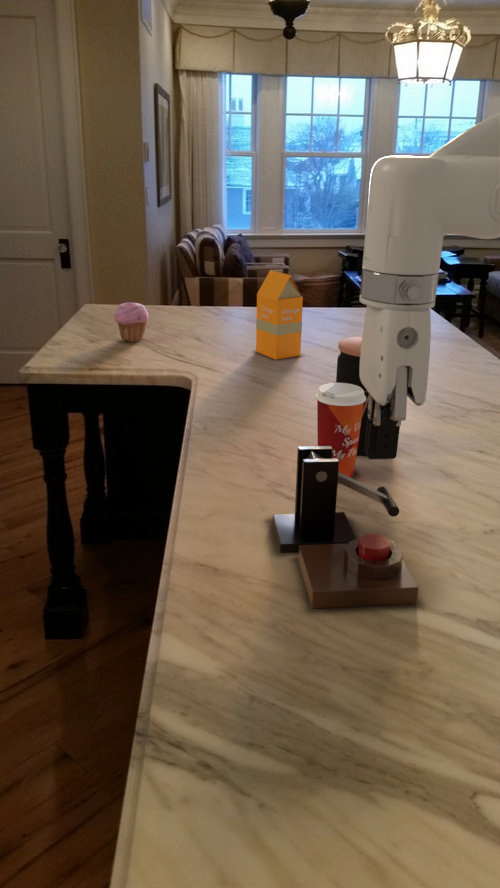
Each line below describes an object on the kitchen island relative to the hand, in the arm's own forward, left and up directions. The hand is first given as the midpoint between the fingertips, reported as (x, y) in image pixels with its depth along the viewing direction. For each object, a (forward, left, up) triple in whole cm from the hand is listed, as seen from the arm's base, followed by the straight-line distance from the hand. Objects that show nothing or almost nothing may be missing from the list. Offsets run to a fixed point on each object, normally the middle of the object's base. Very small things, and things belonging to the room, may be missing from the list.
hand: (379, 455), depth 78 cm
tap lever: (+1, -11, -10) cm, 15 cm away
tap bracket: (+5, -11, -16) cm, 20 cm away
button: (0, 0, -13) cm, 13 cm away
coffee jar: (-9, -41, -16) cm, 45 cm away
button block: (+2, 0, -16) cm, 16 cm away
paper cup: (-2, -30, -16) cm, 34 cm away
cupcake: (+35, -116, -16) cm, 122 cm away
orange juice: (-2, -101, -16) cm, 102 cm away
